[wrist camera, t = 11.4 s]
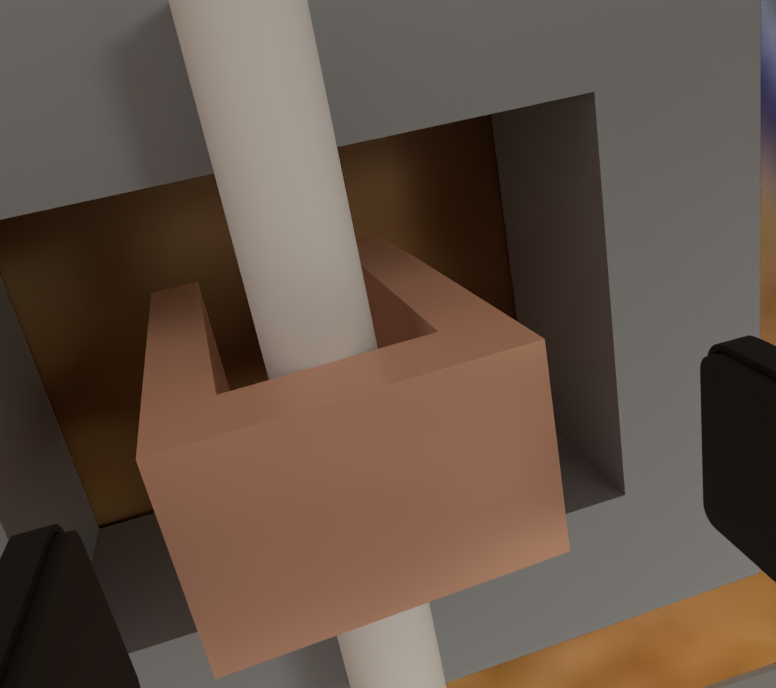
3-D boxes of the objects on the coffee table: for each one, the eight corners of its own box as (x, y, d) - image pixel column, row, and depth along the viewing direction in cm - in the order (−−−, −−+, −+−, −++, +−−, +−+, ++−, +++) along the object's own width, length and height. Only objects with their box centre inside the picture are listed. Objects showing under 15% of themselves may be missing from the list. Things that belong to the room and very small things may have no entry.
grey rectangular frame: (604, -88, 20) (922, -230, 11) (642, 473, 26) (862, 659, 18) (-285, 64, 16) (-831, 27, 8) (9, 672, 23) (-105, 1030, 14)
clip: (380, 235, 20) (544, 338, 11) (406, 368, 21) (570, 551, 13) (150, 293, 19) (135, 460, 10) (195, 430, 20) (215, 679, 11)
